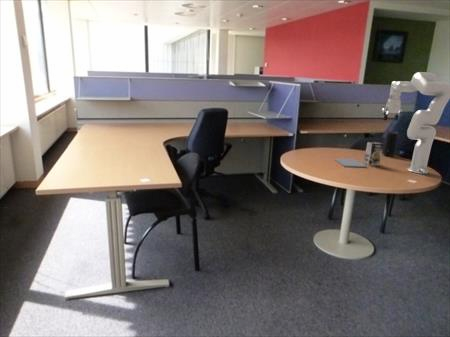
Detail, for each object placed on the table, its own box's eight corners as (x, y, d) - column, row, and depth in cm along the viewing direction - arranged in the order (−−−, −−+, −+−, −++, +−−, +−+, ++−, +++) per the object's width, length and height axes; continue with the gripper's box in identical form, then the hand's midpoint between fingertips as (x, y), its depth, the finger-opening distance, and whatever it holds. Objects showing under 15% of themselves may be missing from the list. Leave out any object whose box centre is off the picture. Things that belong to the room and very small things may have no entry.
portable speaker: (389, 157, 276) (394, 133, 270) (379, 154, 283) (384, 131, 278) (396, 156, 279) (401, 132, 274) (386, 154, 287) (391, 130, 282)
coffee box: (369, 165, 246) (373, 143, 242) (363, 163, 252) (367, 141, 248) (379, 165, 248) (383, 143, 244) (373, 163, 254) (377, 141, 250)
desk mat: (366, 167, 240) (367, 166, 240) (344, 166, 239) (344, 165, 239) (355, 160, 259) (355, 159, 259) (334, 159, 259) (334, 158, 258)
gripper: (388, 97, 258) (384, 120, 263) (407, 98, 262) (403, 121, 267) (381, 97, 265) (377, 119, 270) (400, 97, 269) (396, 119, 274)
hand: (390, 120), depth 268 cm, fingers open, 9 cm apart
